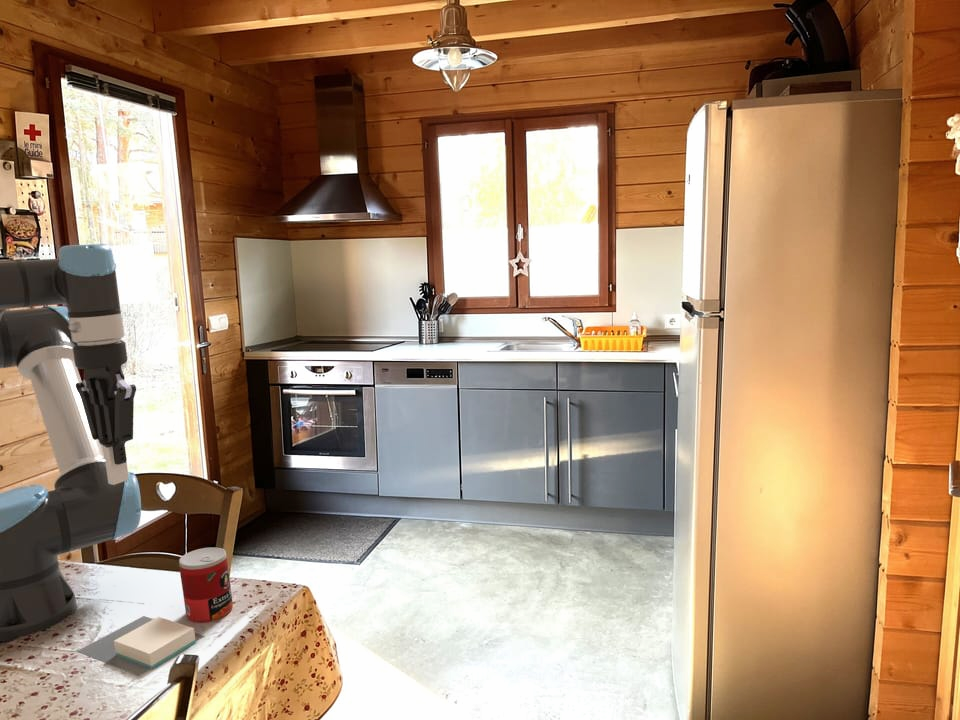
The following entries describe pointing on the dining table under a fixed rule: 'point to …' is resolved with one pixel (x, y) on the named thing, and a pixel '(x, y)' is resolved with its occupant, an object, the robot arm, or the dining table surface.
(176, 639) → the tile
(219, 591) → the canned food
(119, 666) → the slate board
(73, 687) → the dining table surface
